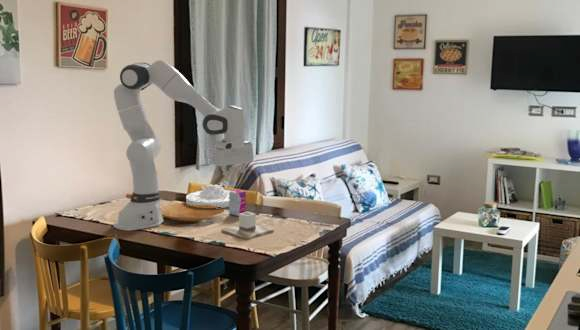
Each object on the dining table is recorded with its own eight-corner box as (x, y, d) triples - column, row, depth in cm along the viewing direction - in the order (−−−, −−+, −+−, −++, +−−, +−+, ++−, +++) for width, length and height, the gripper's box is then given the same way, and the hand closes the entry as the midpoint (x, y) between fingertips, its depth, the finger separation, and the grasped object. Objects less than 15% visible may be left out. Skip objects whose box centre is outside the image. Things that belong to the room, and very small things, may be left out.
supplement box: (238, 217, 296) (237, 193, 294) (228, 215, 299) (228, 191, 297) (246, 214, 300) (246, 191, 298) (237, 212, 304) (236, 189, 302)
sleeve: (247, 231, 269) (246, 215, 268) (239, 229, 272) (239, 213, 271) (255, 229, 273) (255, 213, 271) (247, 227, 276) (247, 211, 275)
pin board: (246, 239, 262) (246, 229, 261) (221, 231, 273) (221, 221, 272) (273, 231, 273) (273, 221, 272) (249, 224, 284) (249, 214, 283)
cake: (219, 212, 306) (219, 192, 304) (174, 205, 320) (174, 186, 318) (251, 199, 330) (250, 182, 328) (207, 193, 343) (207, 176, 342)
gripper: (247, 139, 285) (247, 169, 287) (211, 143, 271) (211, 175, 273) (256, 141, 280) (256, 172, 283) (220, 146, 266) (220, 177, 269)
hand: (233, 173), depth 278 cm, fingers open, 8 cm apart
